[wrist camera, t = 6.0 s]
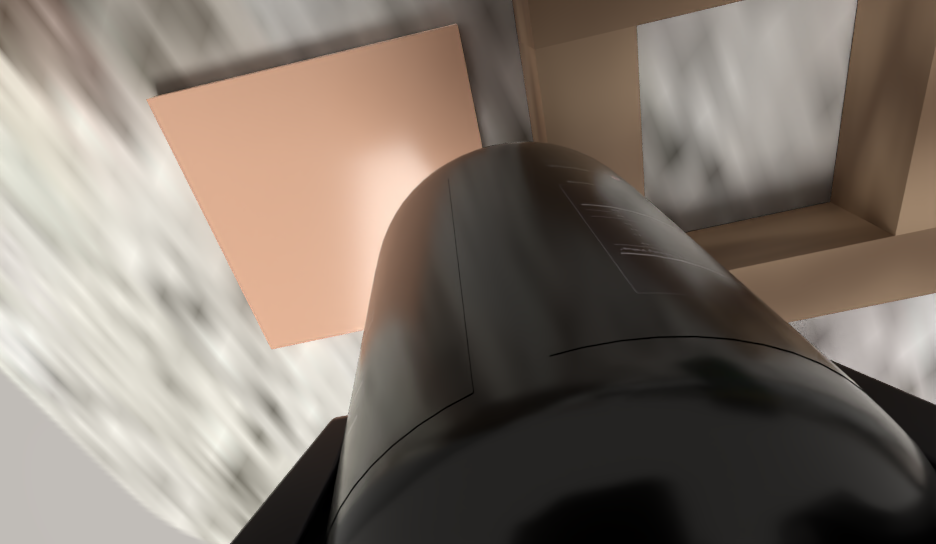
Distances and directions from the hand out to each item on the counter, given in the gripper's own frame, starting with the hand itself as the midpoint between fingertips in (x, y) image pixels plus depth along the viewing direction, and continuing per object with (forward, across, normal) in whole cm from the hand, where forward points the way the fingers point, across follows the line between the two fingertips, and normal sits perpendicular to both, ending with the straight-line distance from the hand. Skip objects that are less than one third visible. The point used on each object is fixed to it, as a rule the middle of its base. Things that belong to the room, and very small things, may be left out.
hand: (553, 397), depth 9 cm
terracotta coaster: (+13, +6, 0) cm, 14 cm away
